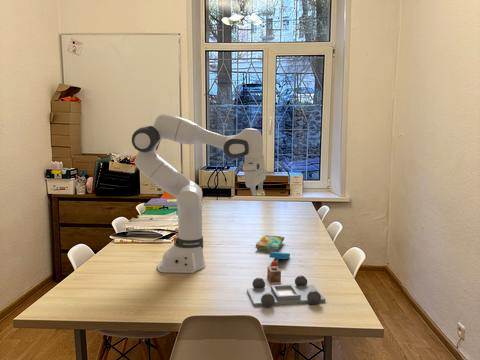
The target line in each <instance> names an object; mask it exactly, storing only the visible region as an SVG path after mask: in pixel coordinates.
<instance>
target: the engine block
mask: <svg viewBox="0 0 480 360" xmlns="http://www.w3.org/2000/svg"><path fill="white" fill-rule="evenodd" d="M266 269H267V270H266V271H267V276H266V277H267V279H268V281H269V283H270V284H271V283H281V282H282V279H281V278H282V270H280V268H279V265H278V266H267V268H266Z"/></svg>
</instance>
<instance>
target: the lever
mask: <svg viewBox="0 0 480 360" xmlns="http://www.w3.org/2000/svg"><path fill="white" fill-rule="evenodd" d="M290 256H291V253H288V252H280V251H276V252H269V258H273V259H275V260H273V261H272V262H270V267H272V266H278V267H279V262H278V261H279V260H280V259H281V260H286V259H290V258H291V257H290Z"/></svg>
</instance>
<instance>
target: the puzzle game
mask: <svg viewBox="0 0 480 360" xmlns="http://www.w3.org/2000/svg"><path fill="white" fill-rule="evenodd" d="M284 240H285V236H281V235H280V236H279V235H267V234H266V235H265V234H264V235H263V236H262V237H261V238H260V239H259V240H258V241H257V243H256V244H255V249H256V250H257V251H258V252H266V253H267V252H268V253H270V252H278V250H279V248H280V247H281V245H282V244H283V242H284Z"/></svg>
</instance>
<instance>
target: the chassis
mask: <svg viewBox="0 0 480 360" xmlns="http://www.w3.org/2000/svg"><path fill="white" fill-rule="evenodd" d="M251 284H252V288H247V289H246V292H247V295H248V296H249V299H250V301H251V303H252V305H253V307H254V308H255V307H264V308H272V307H273V306H283V305H286V306H287V305H298V304H301V305H302V304H311V305H313V306H314V305H317V304H319V303H326V298H325V297H324V296H323V294H322V293H321V292H320V291H319V290H318V288H316V287H315V285H314V284H309V285H308V279H307V278H306V276H304V275H298V276H297V277H295V278H294V284H295V285H294V284H292V283H290V284H274V285H270V287H265V286H266V282H265V280H264V278H262V277H256V278H254V279H253V281H252V283H251Z"/></svg>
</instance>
